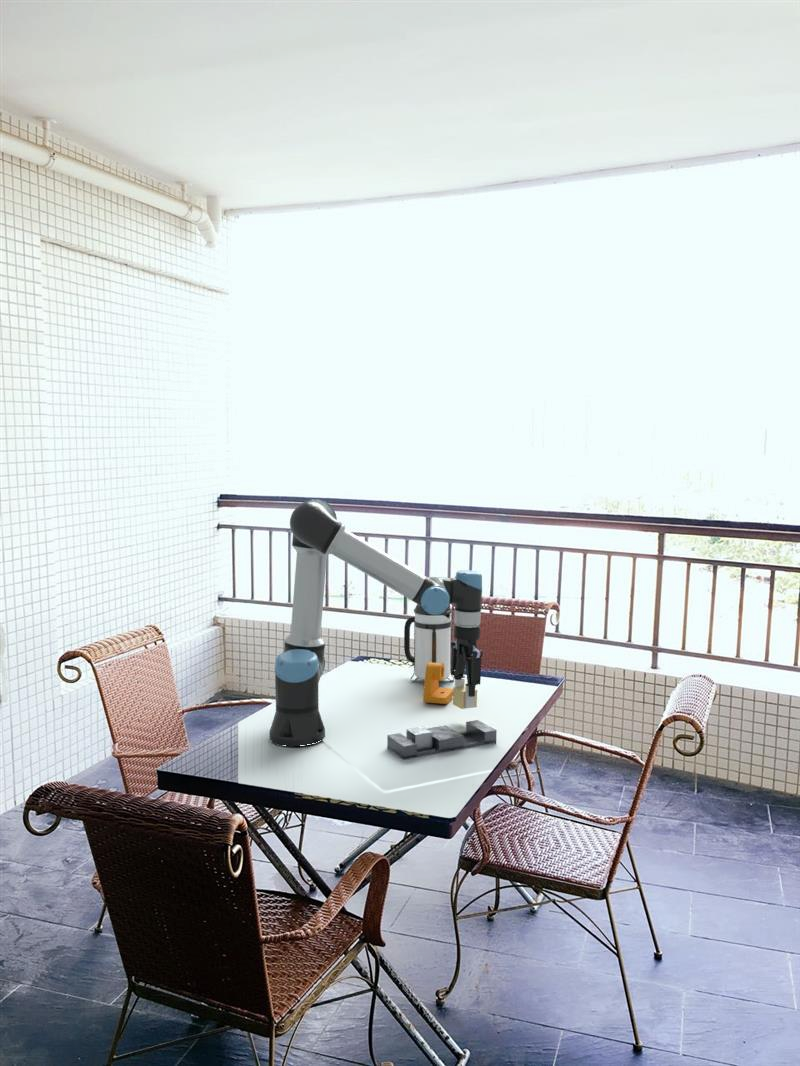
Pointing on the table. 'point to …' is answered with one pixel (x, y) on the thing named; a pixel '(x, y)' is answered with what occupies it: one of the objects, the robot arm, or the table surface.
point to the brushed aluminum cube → (420, 738)
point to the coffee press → (429, 641)
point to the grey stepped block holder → (444, 740)
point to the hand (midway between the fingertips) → (464, 703)
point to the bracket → (435, 685)
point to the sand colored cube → (461, 697)
